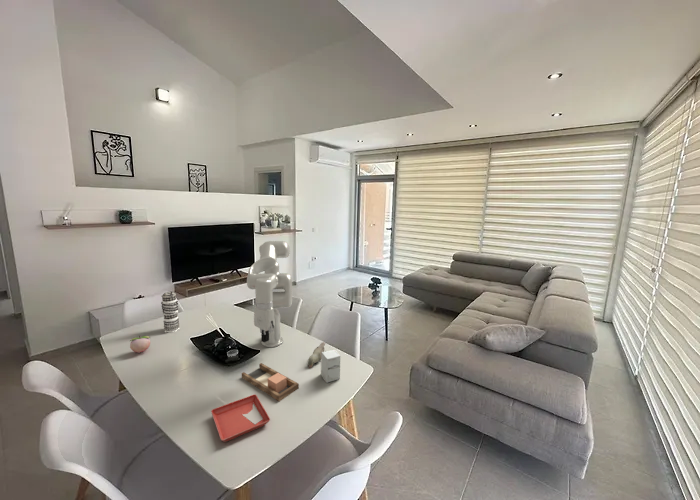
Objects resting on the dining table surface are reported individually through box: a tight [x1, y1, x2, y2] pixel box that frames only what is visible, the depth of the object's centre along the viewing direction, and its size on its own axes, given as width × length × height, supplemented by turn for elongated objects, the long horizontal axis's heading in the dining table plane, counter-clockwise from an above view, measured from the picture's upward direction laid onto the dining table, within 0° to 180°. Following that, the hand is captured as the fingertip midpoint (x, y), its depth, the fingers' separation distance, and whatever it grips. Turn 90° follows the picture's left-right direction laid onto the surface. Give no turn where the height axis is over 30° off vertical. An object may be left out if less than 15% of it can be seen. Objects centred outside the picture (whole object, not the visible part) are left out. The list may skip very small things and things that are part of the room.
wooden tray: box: [241, 362, 300, 402], centre depth 139 cm, size 27×11×3 cm, turn 54°
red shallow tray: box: [210, 393, 271, 443], centre depth 116 cm, size 18×18×3 cm
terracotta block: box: [268, 372, 288, 393], centre depth 136 cm, size 6×6×5 cm
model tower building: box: [160, 291, 180, 333], centre depth 190 cm, size 9×9×25 cm
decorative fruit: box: [129, 335, 151, 353], centre depth 163 cm, size 9×8×10 cm
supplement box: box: [320, 349, 341, 384], centre depth 145 cm, size 7×7×13 cm
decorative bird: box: [307, 341, 326, 369], centre depth 160 cm, size 5×16×8 cm, turn 158°
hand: (265, 340), depth 141 cm, fingers closed
